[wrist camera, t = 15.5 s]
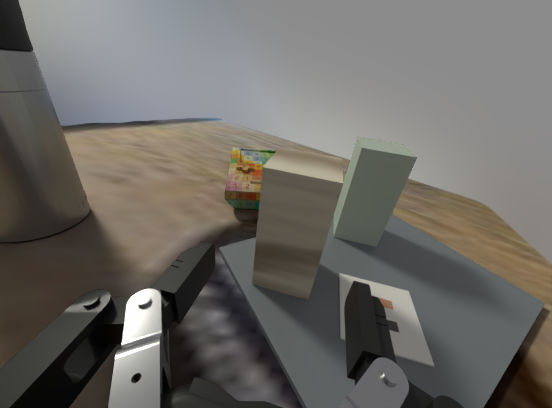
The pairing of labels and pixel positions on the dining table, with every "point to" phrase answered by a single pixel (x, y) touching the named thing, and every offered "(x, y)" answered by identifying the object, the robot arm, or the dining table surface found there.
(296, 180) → the birch block
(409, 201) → the dining table surface
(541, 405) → the dining table surface
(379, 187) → the sage block
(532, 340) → the dining table surface
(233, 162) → the puzzle game
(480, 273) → the board
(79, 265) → the dining table surface
